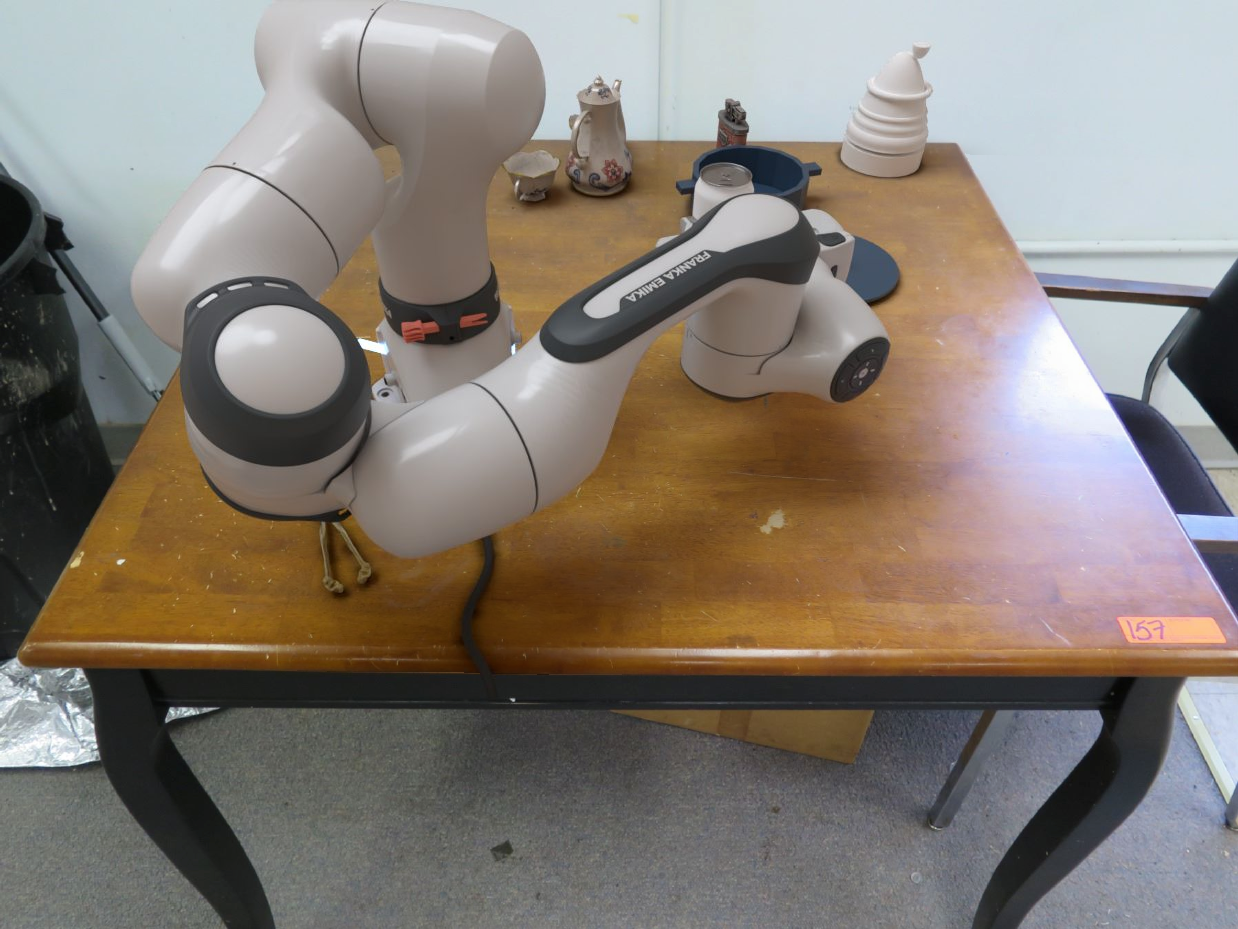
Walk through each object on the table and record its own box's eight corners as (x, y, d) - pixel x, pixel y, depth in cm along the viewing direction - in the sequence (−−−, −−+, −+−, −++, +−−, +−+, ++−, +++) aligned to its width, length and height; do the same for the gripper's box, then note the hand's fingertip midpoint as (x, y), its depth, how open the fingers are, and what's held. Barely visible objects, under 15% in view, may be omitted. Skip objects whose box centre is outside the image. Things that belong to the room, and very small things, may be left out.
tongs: (329, 490, 78) (324, 477, 77) (378, 583, 71) (373, 571, 70) (287, 507, 77) (281, 494, 75) (333, 604, 70) (327, 592, 68)
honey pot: (929, 154, 132) (964, 37, 119) (905, 184, 124) (939, 63, 111) (856, 136, 136) (881, 22, 123) (828, 164, 129) (852, 46, 116)
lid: (922, 296, 103) (933, 265, 99) (798, 319, 99) (805, 287, 96) (856, 229, 114) (863, 200, 111) (743, 247, 111) (747, 217, 107)
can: (742, 258, 95) (755, 162, 86) (743, 288, 90) (757, 189, 82) (689, 255, 95) (696, 159, 87) (687, 285, 91) (694, 186, 82)
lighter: (709, 156, 131) (715, 94, 124) (728, 153, 131) (735, 91, 124) (728, 177, 125) (735, 114, 118) (748, 174, 126) (756, 111, 119)
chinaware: (582, 144, 137) (569, 40, 126) (669, 153, 131) (664, 45, 119) (496, 216, 120) (472, 103, 108) (592, 231, 113) (578, 112, 102)
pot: (838, 225, 115) (846, 186, 111) (696, 247, 111) (700, 207, 106) (788, 174, 126) (794, 137, 122) (658, 192, 122) (659, 154, 117)
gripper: (681, 326, 79) (631, 258, 88) (855, 287, 84) (791, 226, 93) (685, 272, 75) (632, 205, 84) (869, 234, 80) (800, 175, 89)
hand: (717, 216), depth 88 cm, fingers closed on can, 6 cm apart
